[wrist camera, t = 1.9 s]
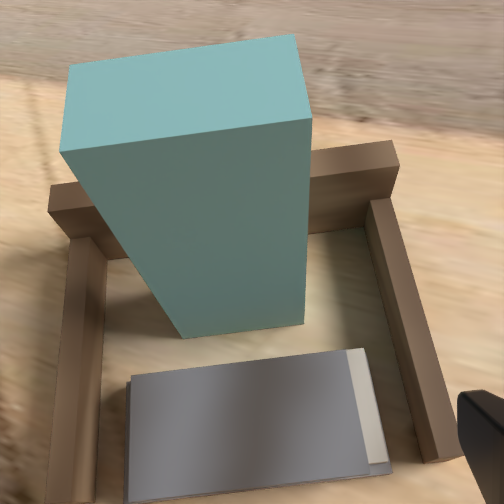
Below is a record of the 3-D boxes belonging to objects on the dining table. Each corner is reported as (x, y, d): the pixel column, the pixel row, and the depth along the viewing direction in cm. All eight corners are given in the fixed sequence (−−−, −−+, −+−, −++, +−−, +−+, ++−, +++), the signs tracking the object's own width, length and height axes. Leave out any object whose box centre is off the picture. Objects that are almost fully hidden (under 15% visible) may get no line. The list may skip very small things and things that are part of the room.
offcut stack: (129, 504, 20) (109, 503, 18) (131, 385, 23) (114, 372, 20) (389, 474, 20) (400, 470, 18) (363, 357, 22) (370, 341, 20)
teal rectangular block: (182, 338, 24) (58, 151, 11) (181, 284, 25) (69, 64, 13) (303, 323, 23) (312, 117, 11) (295, 269, 25) (293, 33, 13)
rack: (71, 505, 20) (10, 503, 16) (91, 238, 27) (50, 185, 22) (447, 461, 20) (490, 446, 16) (376, 201, 26) (392, 139, 22)
